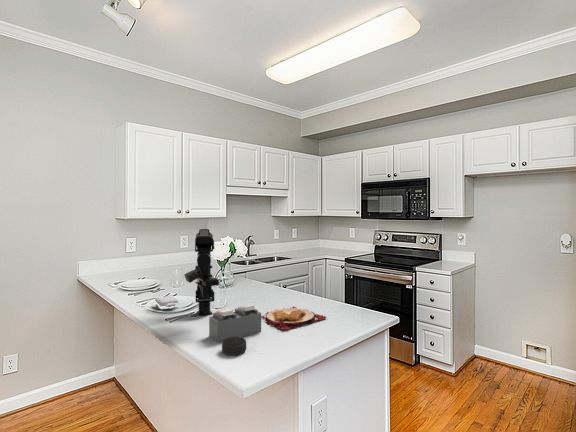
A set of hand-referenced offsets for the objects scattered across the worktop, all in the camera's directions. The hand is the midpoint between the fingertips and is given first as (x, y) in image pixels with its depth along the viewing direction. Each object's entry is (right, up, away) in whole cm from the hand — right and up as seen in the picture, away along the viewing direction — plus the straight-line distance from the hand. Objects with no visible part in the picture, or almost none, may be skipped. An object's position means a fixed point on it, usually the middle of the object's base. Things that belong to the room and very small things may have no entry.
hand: (204, 298), depth 156 cm
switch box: (+16, -12, -11) cm, 23 cm away
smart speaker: (+18, -13, -28) cm, 35 cm away
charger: (-24, -12, +25) cm, 37 cm away
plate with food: (+38, -13, +10) cm, 41 cm away
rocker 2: (+20, -2, -8) cm, 21 cm away
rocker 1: (+12, -3, -14) cm, 18 cm away
